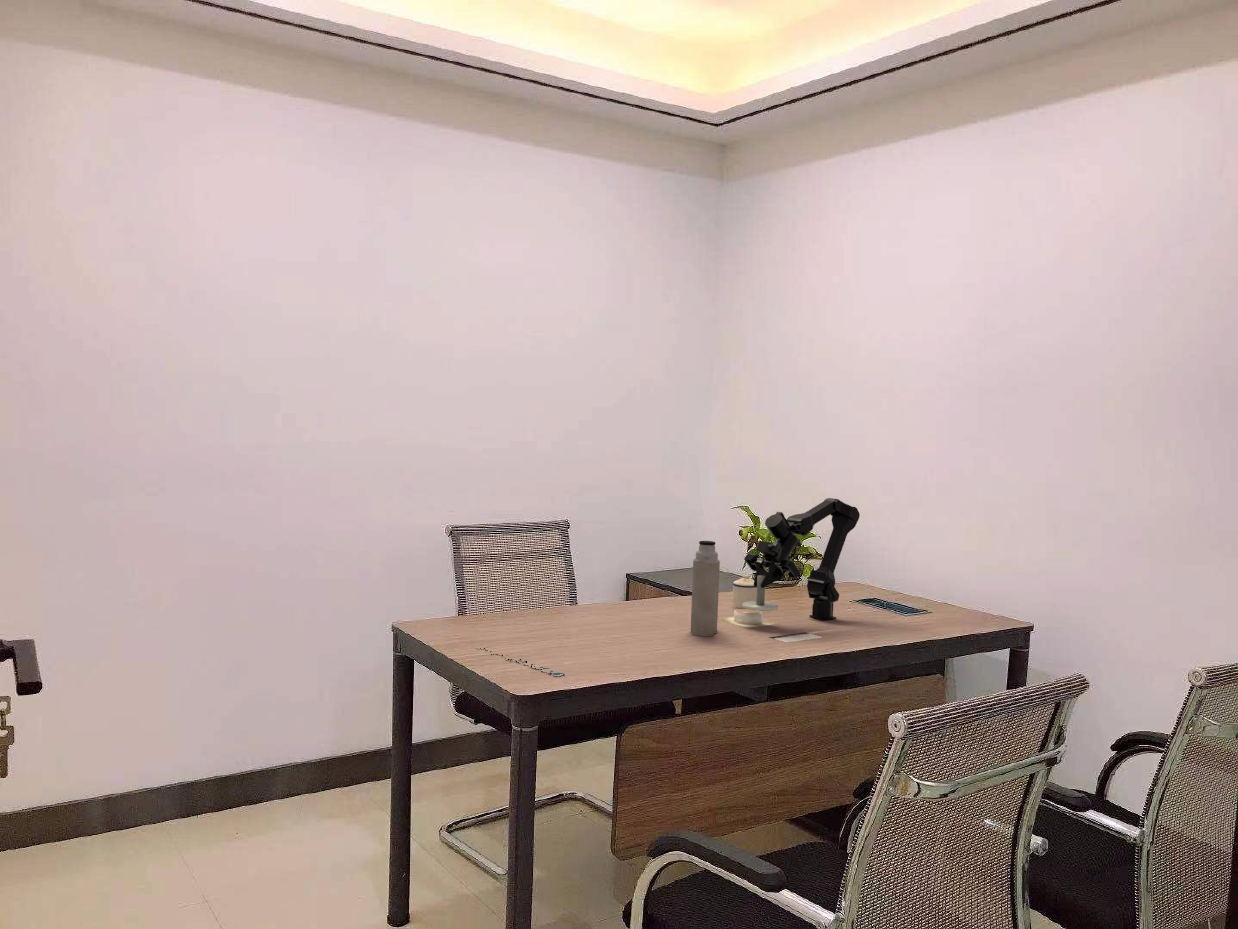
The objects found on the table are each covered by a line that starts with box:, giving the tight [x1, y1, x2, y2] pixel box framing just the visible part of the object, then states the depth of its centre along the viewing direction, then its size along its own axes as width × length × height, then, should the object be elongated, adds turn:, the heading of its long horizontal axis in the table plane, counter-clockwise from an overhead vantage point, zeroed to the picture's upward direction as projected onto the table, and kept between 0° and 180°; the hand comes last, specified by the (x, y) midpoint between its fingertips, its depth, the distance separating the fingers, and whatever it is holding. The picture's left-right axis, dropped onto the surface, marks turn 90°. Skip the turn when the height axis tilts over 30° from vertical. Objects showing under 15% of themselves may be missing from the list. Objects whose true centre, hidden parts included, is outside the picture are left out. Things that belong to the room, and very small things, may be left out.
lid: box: [742, 575, 779, 612], centre depth 318 cm, size 11×11×10 cm
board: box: [717, 616, 780, 629], centre depth 325 cm, size 14×14×1 cm
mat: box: [768, 632, 823, 643], centre depth 310 cm, size 15×15×1 cm
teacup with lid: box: [732, 574, 757, 609], centre depth 351 cm, size 12×9×12 cm
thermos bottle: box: [690, 540, 721, 637], centre depth 309 cm, size 8×8×28 cm
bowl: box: [733, 608, 764, 624], centre depth 325 cm, size 9×9×3 cm
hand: (758, 586), depth 317 cm, fingers closed on lid, 2 cm apart
